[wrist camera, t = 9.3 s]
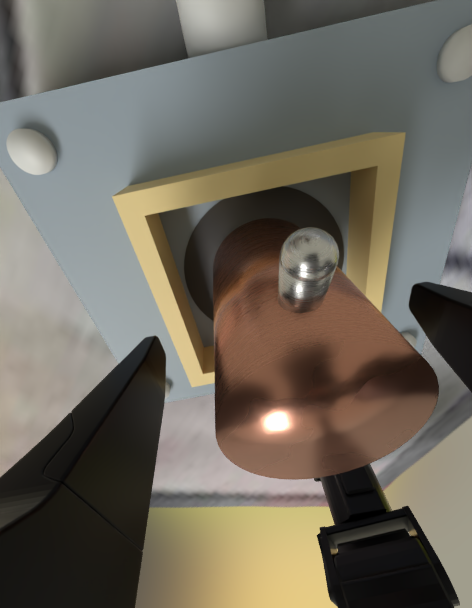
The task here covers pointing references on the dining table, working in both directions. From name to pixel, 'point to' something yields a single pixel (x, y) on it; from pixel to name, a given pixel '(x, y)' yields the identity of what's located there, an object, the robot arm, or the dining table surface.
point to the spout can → (307, 359)
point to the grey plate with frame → (250, 166)
